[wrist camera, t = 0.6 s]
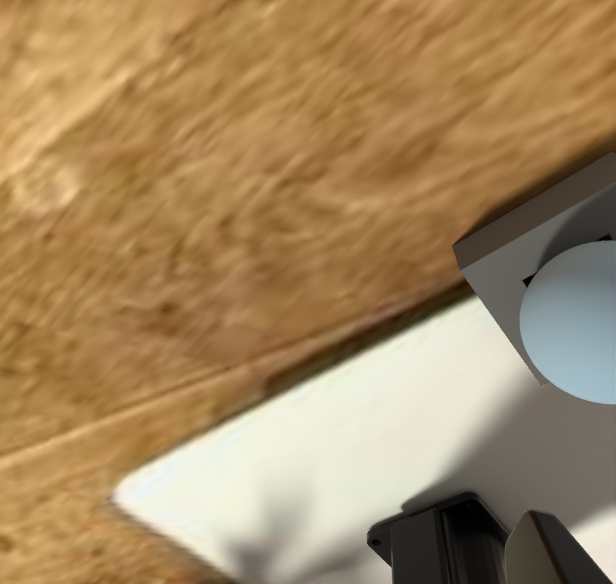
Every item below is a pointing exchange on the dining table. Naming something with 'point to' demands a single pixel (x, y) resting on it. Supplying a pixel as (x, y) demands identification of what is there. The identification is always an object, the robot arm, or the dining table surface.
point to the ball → (574, 321)
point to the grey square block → (537, 242)
